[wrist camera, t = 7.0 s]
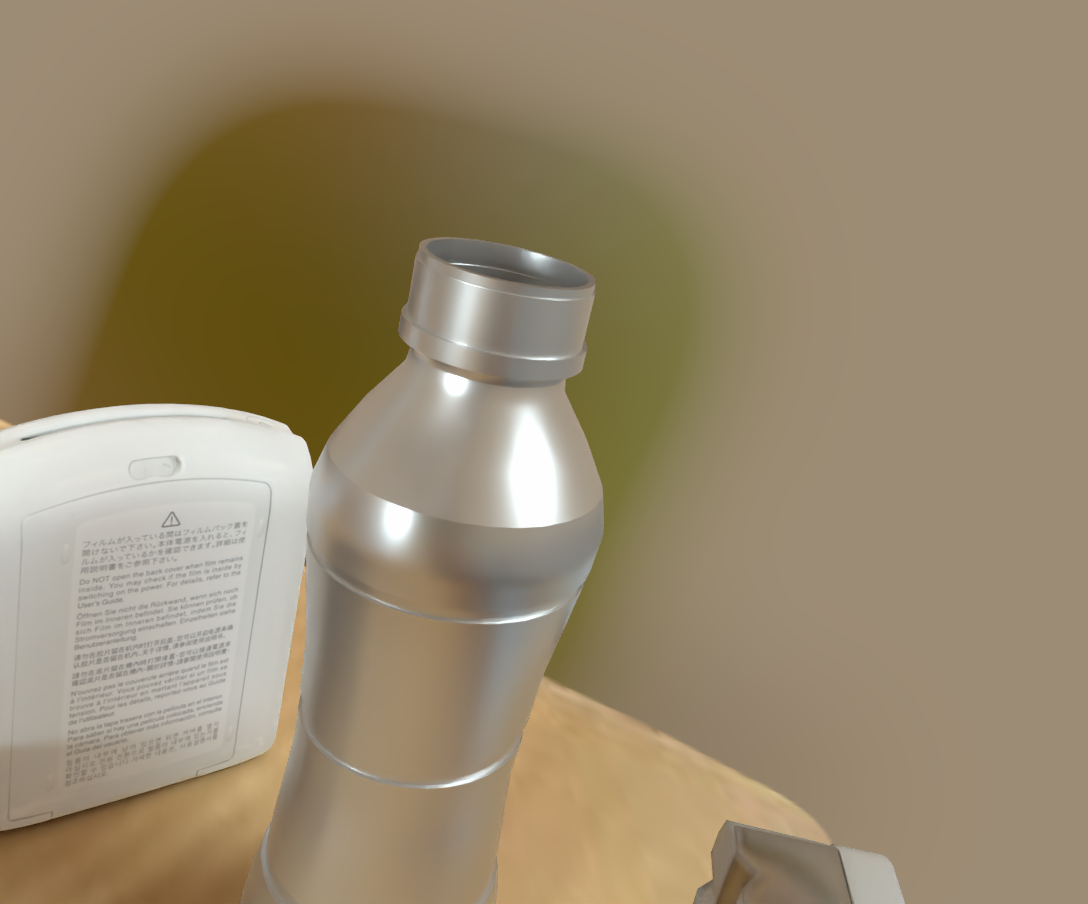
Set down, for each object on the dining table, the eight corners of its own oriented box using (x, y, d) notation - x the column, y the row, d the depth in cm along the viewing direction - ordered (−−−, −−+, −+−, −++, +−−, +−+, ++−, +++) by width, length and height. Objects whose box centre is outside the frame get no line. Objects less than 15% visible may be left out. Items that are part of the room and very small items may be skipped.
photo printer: (240, 686, 37) (282, 376, 33) (294, 757, 35) (347, 429, 30) (-79, 766, 31) (-82, 390, 26) (-45, 863, 28) (-42, 460, 23)
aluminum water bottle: (178, 961, 27) (270, 211, 19) (379, 852, 32) (513, 223, 24) (321, 1158, 23) (500, 323, 16) (523, 1000, 28) (731, 309, 21)
